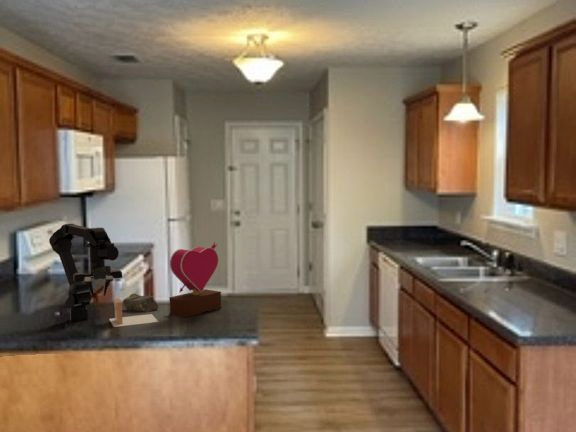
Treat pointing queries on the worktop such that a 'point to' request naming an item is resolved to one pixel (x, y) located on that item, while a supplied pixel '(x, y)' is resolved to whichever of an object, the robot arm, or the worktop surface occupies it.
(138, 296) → the rock
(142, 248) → the worktop surface
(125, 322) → the beige mat
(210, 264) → the heart arrow ornament
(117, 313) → the terracotta tile
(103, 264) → the robot arm
